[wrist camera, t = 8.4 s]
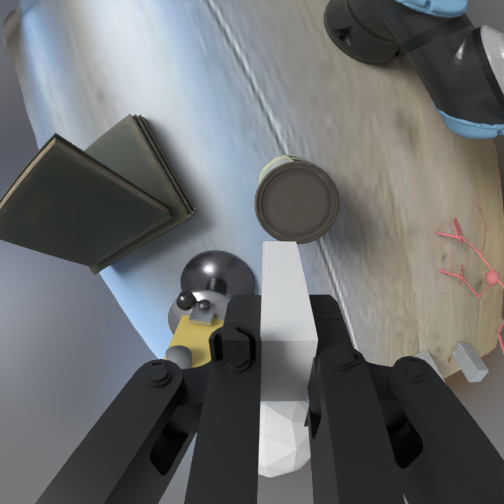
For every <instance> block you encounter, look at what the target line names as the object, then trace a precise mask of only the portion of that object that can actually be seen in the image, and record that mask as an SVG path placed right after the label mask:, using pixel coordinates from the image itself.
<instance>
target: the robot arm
mask: <svg viewBox="0 0 504 504" xmlns="http://www.w3.org/2000/svg"><path fill="white" fill-rule="evenodd" d="M467 4H468V0H330V1H329V3H328V5H327V7H326V9H325V12H324V25H325V28H326V31H327V33H328V35H329V37H330V38H331V40H332V41H333V42H334V44H335V45H336V46H337V47H338V48H339V49H340V50H342V51H343V52H344V53H346V54H347V55H349V56H350V57H352V58H354V59H356V60H358V61H361V62H365V63H369V64H384V63H388V62H390V61H392V60H394V59H396V58H398V57H399V56H401V55H402V54H403V53H404V54H405V55H406V57H407V58H408V60H409V61H410V63H411V65H412V66H413V68H414V69H415V71H416V72H417V74H418V76H419V77H420V79H421V81H422V82H423V84H424V86H425V87H426V89H427V91H428V93H429V95H430V96H431V98H432V100H433V101H432V102H433V105H434V107H435V109H437V111H438V112H439V113H440V115H441V117H442V119H443V121H444V123H445V124H446V126H447V127H448V128H449V129H450V130H451V131H452V132H453V133H455V134H457V135H459V136H461V137H465V138H470V139H490V138H496V137H497V135H504V33H499V32H498V31H496V30H494V29H492V28H491V27H489V26H482V27H479V28H476V29H475V27H474V26H473V25H472V23H471V21H470V20H469V18H468V17H467V15H466V14H465V11H466V8H467ZM449 33H450V34H449ZM437 38H438V39H437ZM428 42H429V43H428ZM419 46H420V47H419ZM417 47H418V48H417ZM415 48H416V49H415ZM413 49H414V50H413ZM208 340H209V347H210V354H211V361H209V362H208V363H206V364H204V365H202V366H198V367H193V368H187V369H181V368H180V367H179V366H178V365H177V364H176V363H174V362H172V361H170V360H164V359H158V360H152V361H150V362H147V363H145V364H144V365H142V366H141V367H140V368H139V369H138V370H137V371H136V372H135V374H134V375H133V376H132V378H131V379H130V380H129V381H128V383H127V384H126V385H125V386H124V388H123V389H122V390H121V392H120V393H119V394H118V395H117V397H116V398H115V399H114V400H113V402H112V403H111V405H110V406H109V407H108V408H107V409H106V411H105V412H104V413H103V415H102V416H101V417H100V419H99V420H98V421H97V422H96V424H95V425H94V426H93V428H92V429H91V430H90V431H89V433H88V434H87V436H86V437H85V438H84V439H83V441H82V442H81V443H80V445H79V446H78V447H77V448H76V450H75V451H74V452H73V454H72V455H71V456H70V458H69V459H68V460H67V462H66V463H65V464H64V466H63V467H62V468H61V470H60V471H59V472H58V474H57V475H56V476H55V478H54V479H53V480H52V482H51V483H50V484H49V486H48V487H47V488H46V490H45V491H44V493H43V494H42V495H41V496H40V498H39V499H38V501H37V502H36V503H35V504H158V503H159V501H160V499H161V497H162V495H163V494H164V492H165V490H166V488H167V487H168V485H169V482H170V481H171V479H172V477H173V475H174V474H175V472H176V470H177V468H178V466H179V464H180V462H181V460H182V459H183V457H184V455H185V453H186V451H187V449H188V447H189V445H190V443H191V442H192V439H193V438H194V436H195V434H196V432H197V437H196V442H195V447H194V453H193V458H192V463H191V469H190V475H189V480H188V486H187V491H186V496H185V502H184V504H257V491H258V465H259V436H260V402H261V401H306V399H307V394H308V399H309V407H308V411H307V415H306V419H305V423H304V427H307V426H308V432H309V443H310V456H311V469H312V482H313V498H314V499H313V500H314V504H405V502H404V497H403V494H404V496H405V498H406V500H407V501H408V503H409V504H504V460H503V459H502V457H501V456H500V454H499V453H498V452H497V450H496V449H495V447H494V446H493V445H492V443H491V442H490V440H489V439H488V438H487V436H486V435H485V434H484V432H483V431H482V430H481V428H480V427H479V426H478V424H477V423H476V421H475V420H474V419H473V418H472V416H471V415H470V414H469V412H468V411H467V410H466V408H465V407H464V406H463V405H462V403H461V402H460V401H459V400H458V398H457V397H456V396H455V395H454V393H453V392H452V391H451V390H450V388H449V387H448V386H447V385H446V383H445V382H444V381H443V380H442V378H441V377H440V376H439V375H438V374H437V372H436V371H435V370H434V369H433V368H432V366H431V365H430V364H428V363H427V362H426V361H425V360H423V359H420V358H418V357H413V356H407V357H402V358H400V359H399V360H397V361H396V362H395V364H394V366H393V367H389V366H382V365H376V364H372V363H369V362H367V361H366V360H365V358H364V357H363V355H362V354H361V353H360V352H359V351H357V350H356V349H354V348H353V346H352V343H351V340H350V337H349V334H348V331H347V328H346V325H345V322H344V321H343V316H342V313H341V310H340V307H339V305H338V302H337V301H336V300H335V299H334V298H333V297H332V296H331V295H308V290H307V286H306V282H305V277H304V273H303V269H302V264H301V260H300V256H299V252H298V248H297V244H296V242H283V241H263V261H262V295H234V297H233V298H232V299H231V300H230V301H229V302H228V304H227V309H226V314H225V319H224V324H223V326H222V327H219V328H218V329H216V330H215V331H214V332H212V333H211V335H210V337H209V339H208Z"/></svg>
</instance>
